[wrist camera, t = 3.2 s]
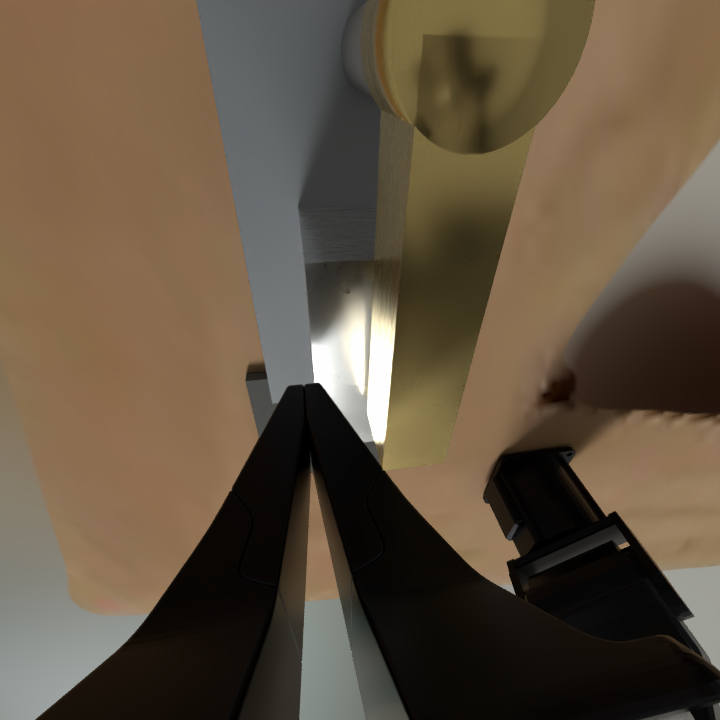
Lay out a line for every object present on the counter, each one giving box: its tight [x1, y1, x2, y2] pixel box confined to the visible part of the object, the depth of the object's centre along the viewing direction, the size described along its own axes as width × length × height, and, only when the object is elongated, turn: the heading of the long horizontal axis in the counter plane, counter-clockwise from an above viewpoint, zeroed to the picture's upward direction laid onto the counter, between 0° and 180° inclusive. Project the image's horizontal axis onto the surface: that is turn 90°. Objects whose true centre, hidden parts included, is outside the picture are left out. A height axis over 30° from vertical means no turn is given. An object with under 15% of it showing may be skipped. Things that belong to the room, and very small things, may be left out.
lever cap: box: [298, 204, 377, 442], centre depth 13 cm, size 5×7×4 cm
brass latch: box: [360, 0, 595, 471], centre depth 8 cm, size 3×10×2 cm, turn 179°
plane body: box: [196, 0, 381, 404], centre depth 13 cm, size 9×15×8 cm, turn 179°
